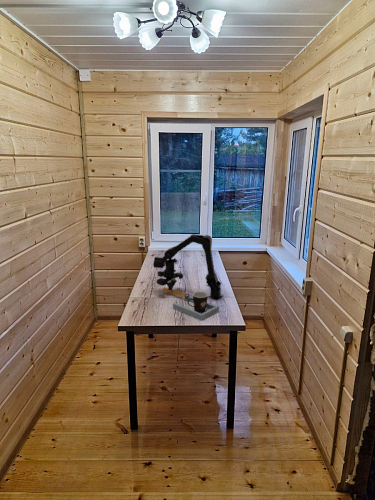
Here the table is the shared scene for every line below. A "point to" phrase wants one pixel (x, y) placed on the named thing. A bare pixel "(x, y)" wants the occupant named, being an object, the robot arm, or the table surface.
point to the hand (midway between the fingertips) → (170, 291)
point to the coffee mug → (199, 301)
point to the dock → (195, 314)
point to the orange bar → (176, 293)
